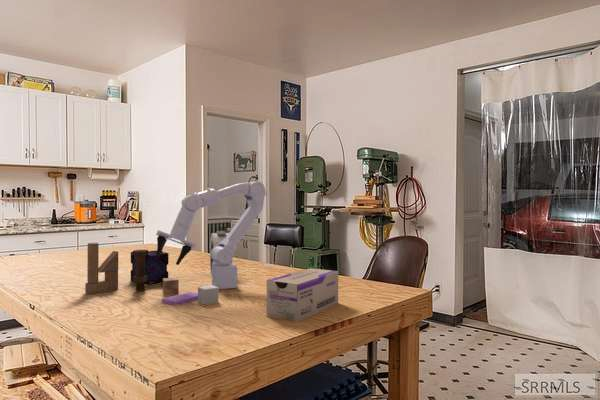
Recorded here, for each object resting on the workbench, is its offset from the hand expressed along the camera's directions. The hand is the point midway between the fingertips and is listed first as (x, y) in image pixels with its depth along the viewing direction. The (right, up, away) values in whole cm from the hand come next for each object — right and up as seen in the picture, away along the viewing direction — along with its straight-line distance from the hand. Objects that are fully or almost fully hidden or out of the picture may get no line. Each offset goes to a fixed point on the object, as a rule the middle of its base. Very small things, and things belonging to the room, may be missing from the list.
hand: (167, 260), depth 151 cm
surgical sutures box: (+50, -12, -22) cm, 56 cm away
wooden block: (-25, -12, +2) cm, 27 cm away
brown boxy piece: (+1, -12, 0) cm, 12 cm away
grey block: (+18, -12, -14) cm, 25 cm away
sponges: (+9, -12, -11) cm, 19 cm away
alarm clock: (+13, -12, +34) cm, 38 cm away
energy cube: (-14, -12, +20) cm, 27 cm away
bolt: (-11, -12, +3) cm, 16 cm away
